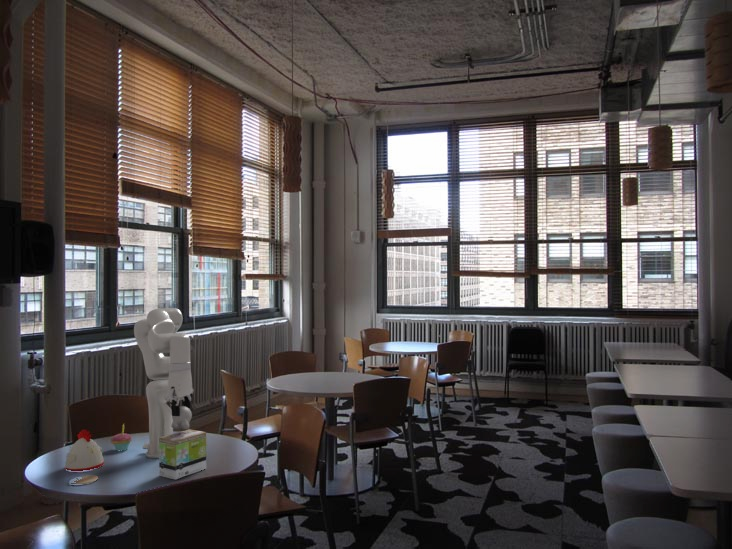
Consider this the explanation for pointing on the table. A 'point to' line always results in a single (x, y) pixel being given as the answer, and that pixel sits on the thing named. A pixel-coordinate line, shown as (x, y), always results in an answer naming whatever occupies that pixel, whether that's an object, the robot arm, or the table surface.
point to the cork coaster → (86, 479)
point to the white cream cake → (84, 454)
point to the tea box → (182, 454)
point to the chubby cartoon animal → (182, 418)
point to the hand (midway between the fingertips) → (181, 413)
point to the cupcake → (121, 440)
